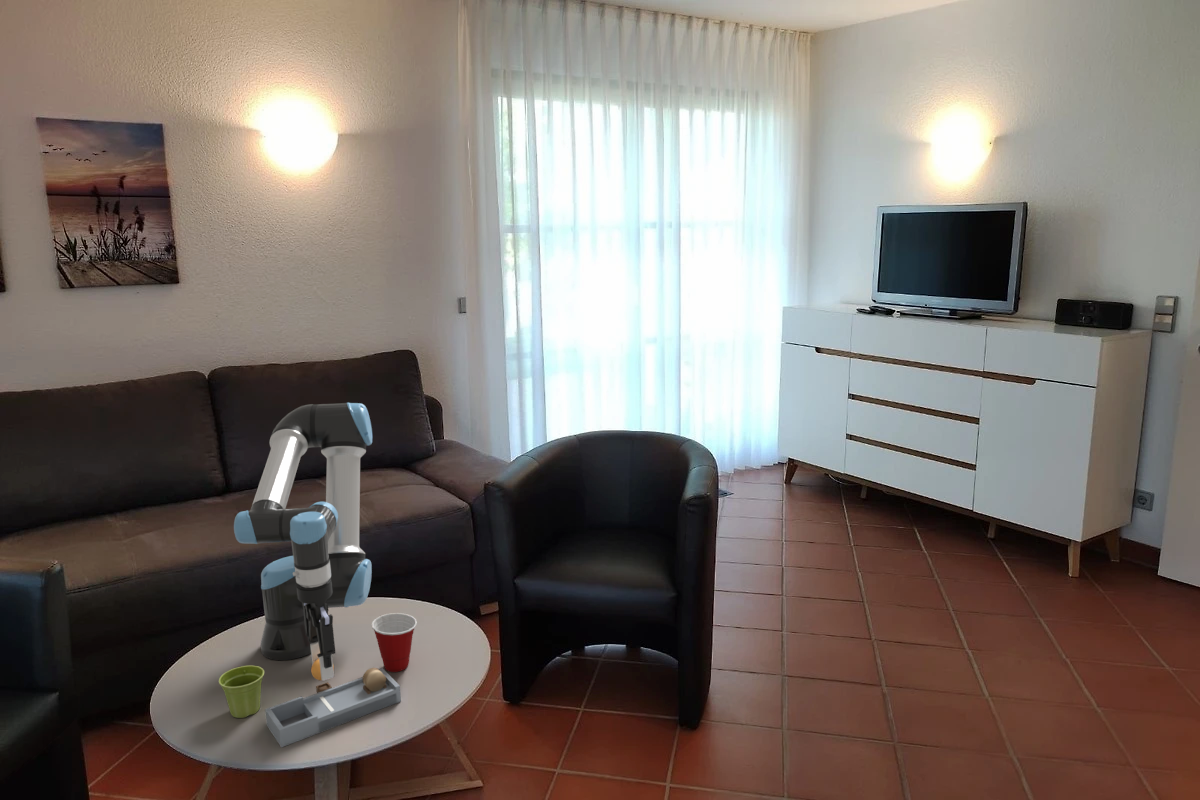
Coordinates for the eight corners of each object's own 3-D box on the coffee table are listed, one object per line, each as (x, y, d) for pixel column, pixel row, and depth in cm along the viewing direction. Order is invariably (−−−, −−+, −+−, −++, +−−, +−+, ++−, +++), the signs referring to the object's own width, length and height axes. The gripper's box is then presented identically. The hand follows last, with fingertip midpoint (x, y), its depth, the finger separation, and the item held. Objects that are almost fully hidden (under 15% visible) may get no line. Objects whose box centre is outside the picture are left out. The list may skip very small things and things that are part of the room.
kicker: (363, 688, 192) (361, 671, 191) (381, 682, 194) (379, 665, 193) (368, 694, 189) (366, 676, 189) (386, 687, 192) (385, 670, 191)
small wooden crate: (316, 696, 194) (315, 686, 193) (328, 692, 195) (327, 682, 195) (321, 701, 191) (320, 691, 191) (333, 697, 193) (332, 687, 192)
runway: (266, 725, 183) (264, 709, 182) (383, 682, 199) (381, 667, 198) (281, 747, 175) (279, 730, 174) (401, 701, 191) (399, 685, 190)
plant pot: (234, 698, 193) (230, 664, 191) (274, 699, 193) (270, 665, 191) (215, 722, 184) (210, 687, 182) (257, 722, 184) (253, 687, 182)
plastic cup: (417, 676, 202) (414, 630, 199) (372, 679, 200) (368, 633, 198) (421, 653, 212) (418, 610, 210) (378, 656, 211) (375, 612, 208)
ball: (308, 675, 194) (308, 657, 192) (329, 669, 197) (329, 651, 195) (315, 687, 190) (315, 668, 188) (336, 681, 193) (337, 662, 191)
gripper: (283, 571, 192) (294, 662, 197) (311, 600, 178) (321, 696, 184) (316, 562, 196) (325, 651, 202) (345, 590, 182) (354, 684, 188)
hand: (323, 672), depth 193 cm, fingers closed on ball, 5 cm apart
